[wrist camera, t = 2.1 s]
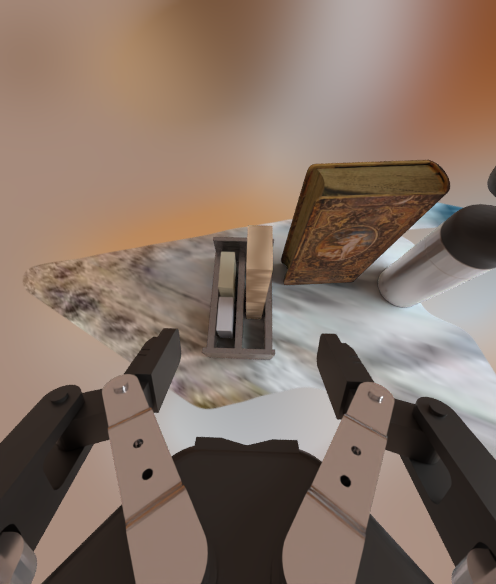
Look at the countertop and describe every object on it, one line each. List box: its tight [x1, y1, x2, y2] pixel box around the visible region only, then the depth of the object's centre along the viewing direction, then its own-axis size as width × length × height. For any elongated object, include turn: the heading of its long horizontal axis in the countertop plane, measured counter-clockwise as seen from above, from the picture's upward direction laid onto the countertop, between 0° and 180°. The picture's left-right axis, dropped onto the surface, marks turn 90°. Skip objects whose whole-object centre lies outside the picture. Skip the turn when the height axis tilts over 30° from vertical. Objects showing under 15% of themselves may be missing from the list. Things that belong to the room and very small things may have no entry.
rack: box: [202, 237, 275, 360], centre depth 44 cm, size 12×22×8 cm, turn 178°
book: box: [281, 160, 450, 285], centre depth 39 cm, size 16×6×25 cm, turn 93°
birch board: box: [246, 225, 273, 319], centre depth 38 cm, size 3×6×22 cm, turn 178°
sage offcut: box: [218, 252, 237, 304], centre depth 45 cm, size 2×7×9 cm, turn 178°
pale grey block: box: [216, 297, 235, 338], centre depth 43 cm, size 2×6×7 cm, turn 178°
